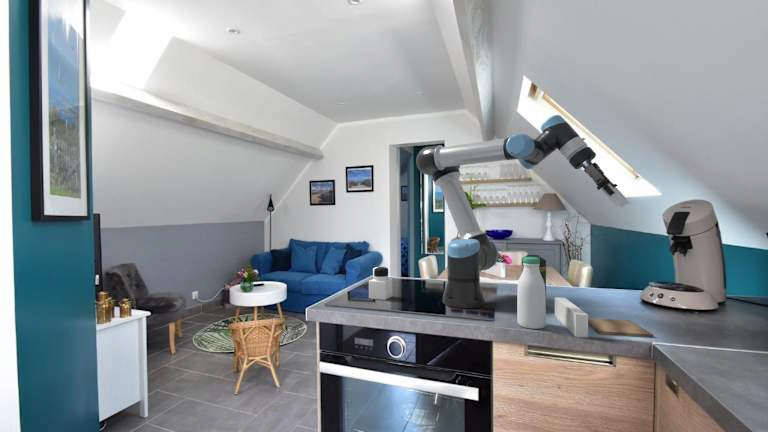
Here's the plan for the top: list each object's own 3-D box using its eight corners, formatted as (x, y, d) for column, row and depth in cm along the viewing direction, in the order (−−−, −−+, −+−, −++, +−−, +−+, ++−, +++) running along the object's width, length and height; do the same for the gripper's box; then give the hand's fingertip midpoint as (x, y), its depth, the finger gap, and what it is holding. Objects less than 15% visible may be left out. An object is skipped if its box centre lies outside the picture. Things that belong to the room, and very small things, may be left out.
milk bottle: (547, 331, 98) (546, 259, 98) (517, 327, 100) (517, 258, 101) (544, 323, 105) (544, 256, 105) (517, 320, 108) (517, 255, 108)
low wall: (575, 336, 93) (575, 314, 93) (554, 315, 113) (554, 297, 113) (588, 337, 92) (588, 314, 92) (564, 316, 112) (564, 297, 112)
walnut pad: (599, 334, 95) (599, 331, 95) (582, 320, 108) (582, 317, 108) (653, 337, 92) (653, 334, 92) (629, 322, 105) (629, 320, 105)
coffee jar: (520, 303, 128) (520, 253, 128) (544, 305, 126) (544, 254, 126) (522, 310, 119) (522, 256, 119) (548, 312, 116) (547, 257, 117)
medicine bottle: (392, 296, 140) (392, 266, 140) (385, 300, 134) (385, 269, 134) (376, 294, 143) (376, 265, 143) (368, 298, 137) (368, 268, 137)
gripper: (580, 139, 105) (631, 194, 97) (595, 151, 124) (638, 198, 116) (558, 156, 109) (605, 210, 101) (576, 165, 128) (616, 211, 120)
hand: (623, 204), depth 108 cm, fingers open, 13 cm apart
